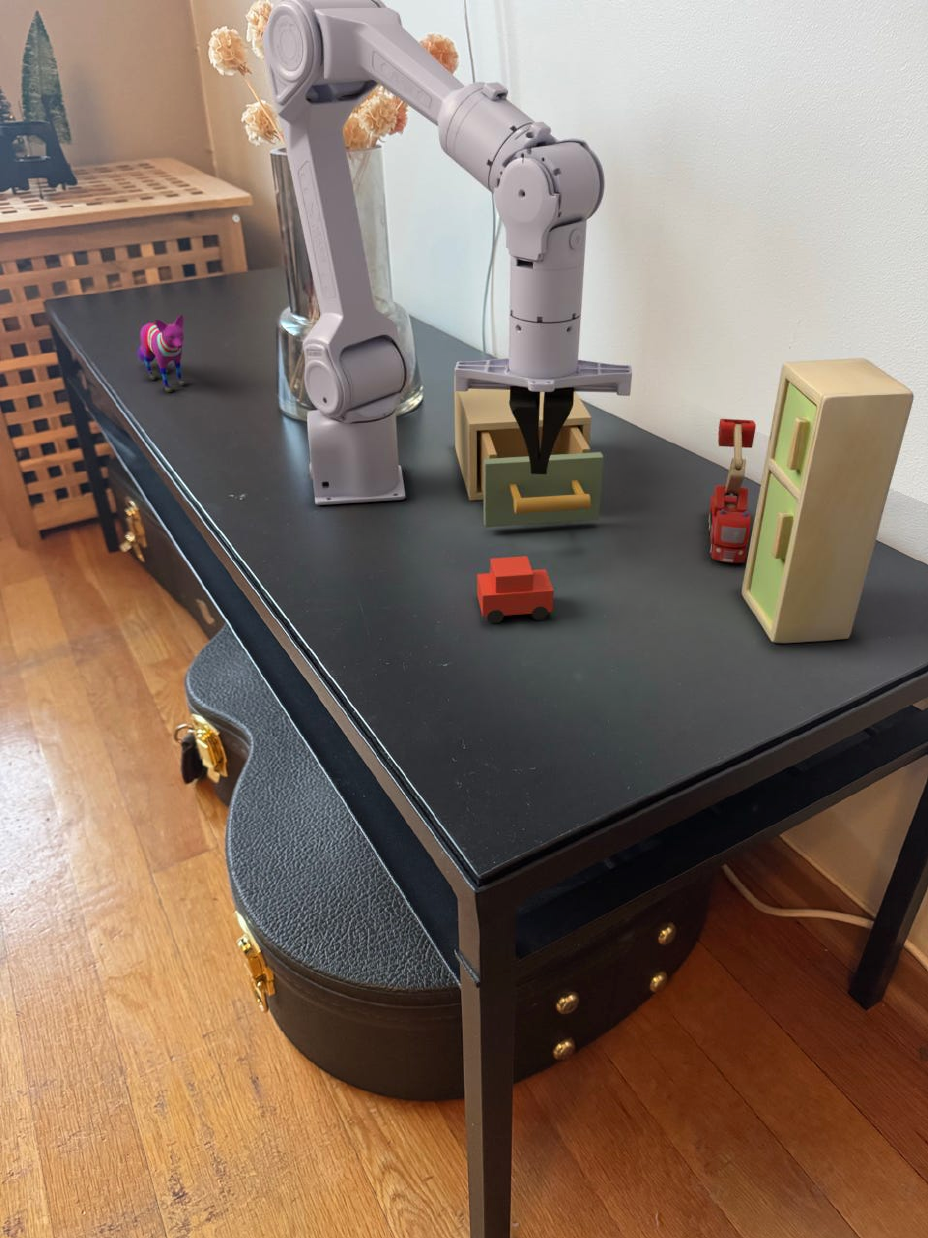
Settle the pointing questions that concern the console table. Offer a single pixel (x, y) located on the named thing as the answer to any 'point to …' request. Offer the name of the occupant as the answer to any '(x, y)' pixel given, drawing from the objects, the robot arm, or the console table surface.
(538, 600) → the toy car
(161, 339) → the toy dog
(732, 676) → the console table surface
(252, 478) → the console table surface
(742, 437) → the toy fire truck
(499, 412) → the wooden drawer cabinet
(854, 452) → the toy refrigerator
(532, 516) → the cabinet drawer
